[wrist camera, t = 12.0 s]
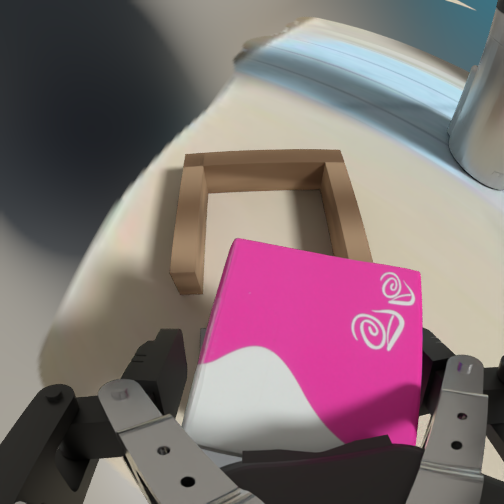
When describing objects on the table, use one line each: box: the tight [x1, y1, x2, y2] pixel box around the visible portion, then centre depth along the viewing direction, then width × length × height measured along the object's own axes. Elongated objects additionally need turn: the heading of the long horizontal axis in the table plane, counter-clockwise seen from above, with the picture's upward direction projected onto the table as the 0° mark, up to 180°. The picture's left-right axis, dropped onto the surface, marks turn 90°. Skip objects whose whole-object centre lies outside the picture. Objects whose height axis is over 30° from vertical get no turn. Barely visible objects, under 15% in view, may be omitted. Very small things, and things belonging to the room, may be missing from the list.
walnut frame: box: [170, 149, 373, 295], centre depth 23 cm, size 10×12×3 cm
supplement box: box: [181, 238, 423, 458], centre depth 12 cm, size 6×6×12 cm
